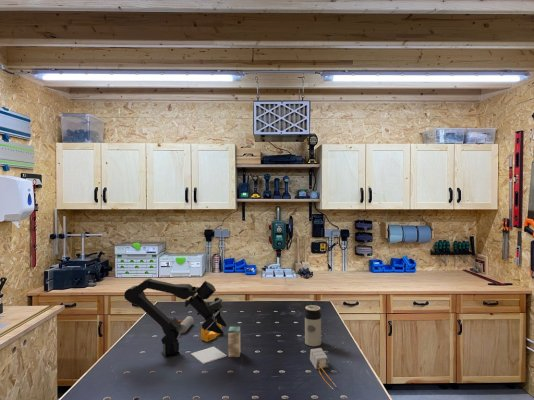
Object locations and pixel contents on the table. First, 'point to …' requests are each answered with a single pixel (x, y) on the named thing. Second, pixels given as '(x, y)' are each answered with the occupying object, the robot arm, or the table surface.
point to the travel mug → (312, 325)
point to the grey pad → (208, 355)
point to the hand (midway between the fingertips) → (224, 329)
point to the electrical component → (319, 361)
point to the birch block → (234, 342)
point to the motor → (186, 323)
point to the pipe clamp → (208, 334)
